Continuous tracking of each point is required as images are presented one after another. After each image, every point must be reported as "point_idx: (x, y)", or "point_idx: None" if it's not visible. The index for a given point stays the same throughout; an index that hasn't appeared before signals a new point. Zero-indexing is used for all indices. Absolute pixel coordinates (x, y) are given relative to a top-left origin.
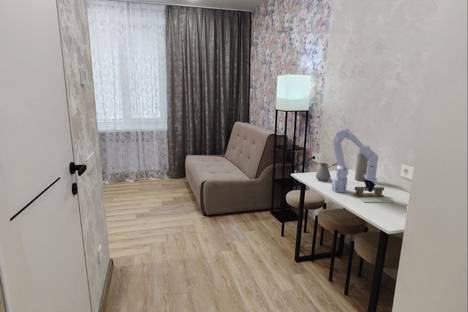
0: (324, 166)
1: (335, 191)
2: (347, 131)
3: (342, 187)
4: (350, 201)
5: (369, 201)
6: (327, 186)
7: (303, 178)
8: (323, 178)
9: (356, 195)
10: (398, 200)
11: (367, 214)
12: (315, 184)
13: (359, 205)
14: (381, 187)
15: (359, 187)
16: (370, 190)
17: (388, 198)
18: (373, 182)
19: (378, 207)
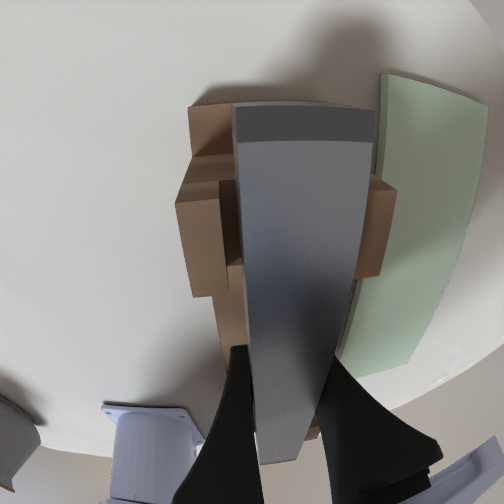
0: (9, 482)
1: (203, 444)
2: None
3: (192, 457)
4: None
5: (418, 336)
6: (107, 437)
7: (50, 445)
8: (37, 437)
9: None
10: (435, 3)
11: (484, 351)
12: (103, 450)
13: (419, 375)
14: (326, 183)
15: (284, 453)
16: None
17: (419, 100)
18: (433, 482)
19: (484, 296)
